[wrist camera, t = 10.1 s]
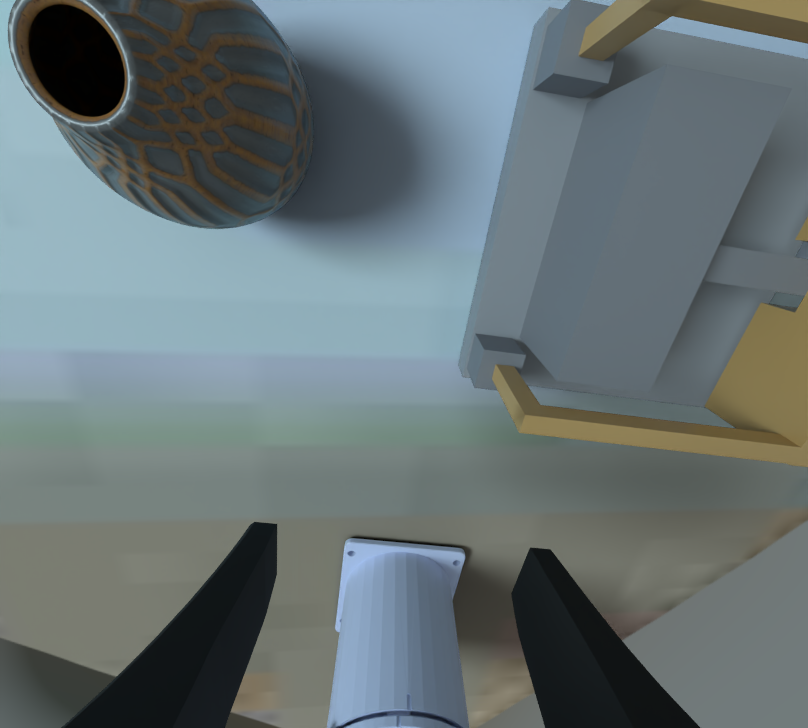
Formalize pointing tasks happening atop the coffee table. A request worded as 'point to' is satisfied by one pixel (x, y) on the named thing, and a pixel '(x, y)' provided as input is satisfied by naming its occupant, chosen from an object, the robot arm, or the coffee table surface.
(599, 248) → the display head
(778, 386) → the tan bracket frame
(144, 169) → the vase
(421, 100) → the coffee table surface
